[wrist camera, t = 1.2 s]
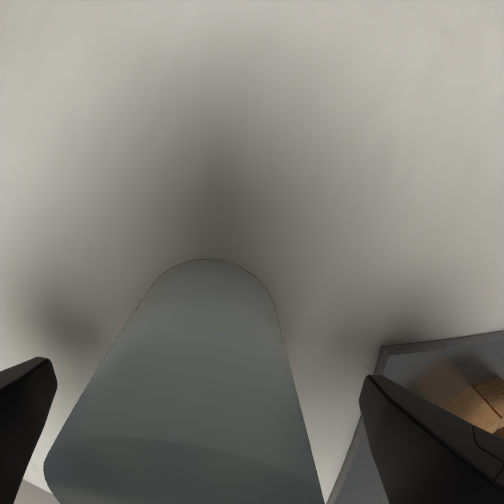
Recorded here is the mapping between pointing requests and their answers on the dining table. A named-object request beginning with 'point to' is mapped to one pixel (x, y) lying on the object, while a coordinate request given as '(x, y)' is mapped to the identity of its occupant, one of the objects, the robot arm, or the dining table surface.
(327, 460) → the dining table surface
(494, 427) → the duct collar
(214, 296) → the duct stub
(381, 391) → the robot arm
